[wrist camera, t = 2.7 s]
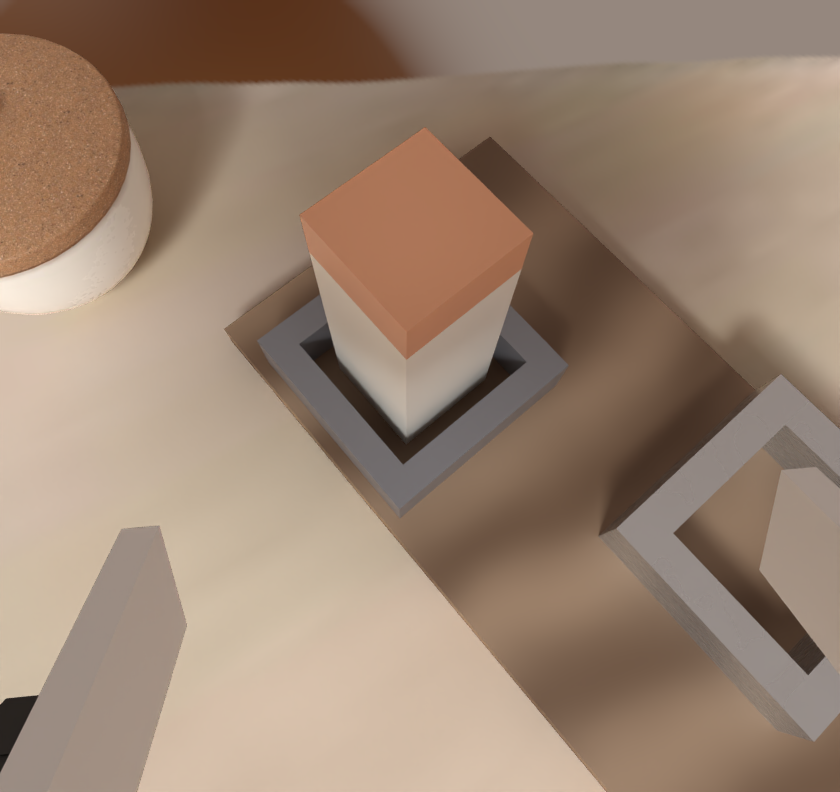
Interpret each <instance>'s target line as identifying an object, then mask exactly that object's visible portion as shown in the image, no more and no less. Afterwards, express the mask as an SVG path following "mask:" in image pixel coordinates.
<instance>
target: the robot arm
mask: <svg viewBox="0 0 840 792" xmlns="http://www.w3.org/2000/svg"><path fill="white" fill-rule="evenodd" d="M759 570H760V572H761V573H762V574H763V576H764V577H765V578H766V579H767V581H768V582H769V583H770V585H771V586H772V587H773V589H774V590H775V591H776V593H777V594H778V595H779V596H780V598H781V599H782V600H783V602H784V603H785V604H786V606H787V607H788V608H789V609H790V611H791V612H792V613H793V615H794V616H795V617H796V619H797V620H798V621H799V622H800V624H801V625H802V626H803V628H804V629H805V630H806V632H807V633H808V634H809V636H810V637H811V638H812V639H813V641H814V642H815V643H816V645H817V646H818V647H819V649H820V650H821V651H822V652H823V654H824V655H825V656H826V658H827V659H828V660H829V662H830V663H831V664H832V665H833V667H834V668H835V669H836V671H837V672H838V673H839V675H840V488H839V487H837V486H836V485H835V484H834V483H833V482H832V481H831V480H830V479H829V478H828V477H827V476H825V475H824V474H823V473H822V472H821V471H820V470H819V469H818V468H817V467H809V468H798V469H787V470H781V474H780V478H779V483H778V487H777V492H776V496H775V501H774V505H773V510H772V514H771V519H770V523H769V528H768V533H767V537H766V542H765V546H764V551H763V555H762V560H761V564H760V569H759ZM186 627H187V623H186V619H185V616H184V612H183V609H182V605H181V602H180V598H179V594H178V591H177V587H176V584H175V580H174V576H173V573H172V569H171V566H170V562H169V558H168V555H167V551H166V548H165V544H164V540H163V537H162V533H161V530H160V526H149V527H138V528H127V529H121V531H120V533H119V535H118V537H117V539H116V541H115V543H114V545H113V547H112V549H111V551H110V553H109V555H108V557H107V559H106V561H105V563H104V565H103V567H102V569H101V571H100V573H99V575H98V577H97V579H96V581H95V583H94V585H93V587H92V589H91V591H90V593H89V595H88V597H87V599H86V601H85V603H84V605H83V607H82V609H81V611H80V613H79V615H78V617H77V619H76V621H75V623H74V626H73V628H72V630H71V632H70V634H69V636H68V638H67V640H66V642H65V644H64V646H63V648H62V650H61V652H60V654H59V656H58V658H57V660H56V662H55V664H54V666H53V668H52V670H51V672H50V674H49V676H48V678H47V680H46V682H45V684H44V686H43V688H42V690H41V692H40V694H39V695H37V696H27V697H17V698H7V699H5V700H4V701H3V702H2V703H1V705H0V792H137V790H138V787H139V784H140V780H141V777H142V774H143V770H144V767H145V764H146V760H147V757H148V754H149V750H150V747H151V743H152V740H153V737H154V733H155V730H156V727H157V723H158V720H159V717H160V713H161V710H162V707H163V703H164V700H165V697H166V693H167V690H168V687H169V683H170V680H171V677H172V673H173V670H174V667H175V663H176V660H177V657H178V653H179V650H180V647H181V643H182V640H183V637H184V633H185V630H186Z"/></svg>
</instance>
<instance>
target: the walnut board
mask: <svg viewBox="0 0 840 792" xmlns="http://www.w3.org/2000/svg"><path fill="white" fill-rule="evenodd" d="M459 161H460V162H461V163H462V164H463V165H464V166H465V167H466V168H467V169H468V170H470V171H471V172H472V173H473V174H474V175H475V176H476V177H477V178H478V179H479V180H480V181H481V182H482V183H483V184H484V185H485V186H486V187H487V188H488V189H489V190H490V191H491V192H492V193H493V194H494V195H495V196H496V197H497V198H498V199H499V200H500V201H501V202H502V203H503V204H504V205H505V206H506V207H507V208H508V209H509V210H510V211H511V212H512V213H513V214H514V215H515V216H516V217H517V218H518V219H519V220H520V221H521V222H522V223H524V224H525V225H526V226H527V227H528V228H529V229H530V230H531V231H532V232H533V236H532V239H531V242H530V245H529V248H528V251H527V254H526V257H525V260H524V263H523V266H522V269H521V272H520V275H519V278H518V281H517V284H516V287H515V290H514V294H513V297H512V300H511V303H510V305H511V306H512V307H513V309H514V310H515V311H516V312H517V313H518V314H519V315H520V316H521V317H522V318H523V319H524V320H525V321H526V322H527V323H528V324H529V325H530V326H531V327H532V328H533V329H534V330H535V331H536V332H537V333H538V334H539V335H540V336H541V337H542V338H543V339H544V340H545V341H546V342H547V343H548V344H549V345H550V346H551V348H552V349H553V350H554V351H555V352H556V353H557V354H558V355H559V356H560V357H561V358H562V359H563V360H564V361H565V362H566V363H567V364H568V365H569V366H568V368H567V369H566V371H565V372H564V374H563V375H562V377H561V378H560V380H559V381H558V383H557V385H556V386H555V387H554V388H552V389H551V390H550V391H549V392H548V393H546V394H545V395H544V396H543V397H542V398H541V399H539V400H538V401H537V402H536V403H535V404H534V405H532V406H531V407H530V408H529V409H528V410H527V411H525V412H524V413H523V414H522V415H521V416H519V417H518V418H517V419H516V420H515V421H514V422H512V423H511V424H510V425H509V426H508V427H507V428H505V429H504V430H503V431H502V432H501V433H500V434H498V435H497V436H496V437H495V438H494V439H492V440H491V441H490V442H489V443H488V444H487V445H485V446H484V447H483V448H482V449H481V450H480V451H478V452H477V453H476V454H475V455H474V456H473V457H471V458H470V459H469V460H468V461H467V462H466V463H464V464H463V465H462V466H461V467H460V468H458V469H457V470H456V471H455V472H454V473H453V474H451V475H450V476H449V477H448V478H447V479H446V480H444V481H443V482H442V483H441V484H440V485H439V486H437V487H436V488H435V489H434V490H433V491H431V492H430V493H429V494H428V495H427V496H426V497H424V498H423V499H422V500H421V501H420V502H419V503H417V504H416V505H415V506H414V507H413V508H412V509H410V510H409V511H408V512H407V513H406V514H404V515H403V516H402V517H401V518H399V517H398V516H397V515H396V513H395V512H394V511H393V510H392V509H391V507H390V506H389V505H388V504H387V503H386V501H385V500H384V499H383V498H382V497H381V495H380V494H379V493H378V492H377V491H376V490H375V488H374V487H373V486H372V485H371V484H370V482H369V481H368V480H367V479H366V478H365V476H364V475H363V474H362V473H361V472H360V470H359V469H358V468H357V467H356V466H355V465H354V463H353V462H352V461H351V460H350V459H349V457H348V456H347V455H346V454H345V453H344V451H343V450H342V449H341V448H340V447H339V445H338V444H337V443H336V442H335V441H334V440H333V438H332V437H331V436H330V435H329V434H328V432H327V431H326V430H325V429H324V428H323V426H322V425H321V424H320V423H319V422H318V421H317V419H316V418H315V417H314V416H313V415H312V413H311V412H310V411H309V410H308V409H307V407H306V406H305V405H304V404H303V403H302V401H301V400H300V399H299V398H298V397H297V396H296V394H295V393H294V392H293V391H292V390H291V388H290V387H289V386H288V385H287V384H286V382H285V381H284V380H283V379H282V378H281V376H280V375H279V374H278V373H277V372H276V371H275V369H274V368H273V367H272V366H271V365H270V363H269V362H268V360H267V358H266V356H265V354H264V353H263V351H262V349H261V347H260V345H259V343H258V341H257V340H259V339H260V338H261V337H263V336H264V335H265V334H267V333H268V332H269V331H271V330H272V329H273V328H275V327H276V326H278V325H279V324H280V323H282V322H283V321H284V320H286V319H287V318H288V317H290V316H291V315H292V314H294V313H295V312H297V311H298V310H299V309H301V308H302V307H303V306H305V305H306V304H307V303H309V302H310V301H311V300H313V299H314V298H316V297H317V296H318V295H320V291H319V288H318V284H317V280H316V276H315V272H314V269H313V265H312V266H311V267H309V268H308V269H306V270H305V271H304V272H302V273H301V274H300V275H298V276H297V277H295V278H294V279H293V280H291V281H290V282H288V283H287V284H286V285H284V286H283V287H282V288H280V289H279V290H277V291H276V292H275V293H273V294H272V295H270V296H269V297H268V298H266V299H265V300H264V301H262V302H261V303H259V304H258V305H257V306H255V307H254V308H253V309H251V310H250V311H248V312H247V313H246V314H244V315H243V316H241V317H240V318H239V319H237V320H236V321H235V322H233V323H232V324H230V325H229V326H228V327H226V328H225V331H226V333H227V334H228V336H229V337H230V339H231V341H232V342H233V343H234V344H235V346H236V347H237V348H238V349H239V350H240V352H241V353H242V354H243V355H244V356H245V358H246V359H247V360H248V361H249V362H250V364H251V365H252V366H253V367H254V369H255V370H256V371H257V372H258V373H259V375H260V376H261V377H262V378H263V379H264V381H265V382H266V383H267V384H268V385H269V387H270V388H271V389H272V390H273V391H274V393H275V394H276V395H277V396H278V397H279V399H280V400H281V401H282V402H283V403H284V405H285V406H286V407H287V408H288V409H289V411H290V412H291V413H292V414H293V415H294V417H295V418H296V419H297V420H298V421H299V423H300V424H301V425H302V426H303V427H304V429H305V430H306V431H307V432H308V433H309V435H310V436H311V437H312V438H313V439H314V441H315V442H316V443H317V444H318V445H319V447H320V448H321V449H322V450H323V451H324V453H325V454H326V455H327V456H328V457H329V459H330V460H331V461H332V462H333V463H334V465H335V466H336V467H337V468H338V469H339V471H340V472H341V473H342V474H343V476H344V477H345V478H346V479H347V480H348V482H349V483H350V484H351V485H352V486H353V488H354V489H355V490H356V491H357V492H358V494H359V495H360V496H361V497H362V498H363V500H364V501H365V502H366V503H367V504H368V506H369V507H370V508H371V509H372V510H373V512H374V513H375V514H376V515H377V516H378V518H379V519H380V520H381V521H382V522H383V524H384V525H385V526H386V527H387V528H388V530H389V531H390V532H391V533H392V534H393V536H394V537H395V538H396V539H397V540H398V542H399V543H400V544H401V545H402V546H403V548H404V549H405V550H406V551H407V552H408V554H409V555H410V556H411V557H412V558H413V560H414V561H415V562H416V563H417V564H418V566H419V567H420V568H421V569H422V570H423V572H424V573H425V574H426V575H427V577H428V578H429V579H430V580H431V581H432V583H433V584H434V585H435V586H436V587H437V589H438V590H439V591H440V592H441V593H442V595H443V596H444V597H445V598H446V599H447V601H448V602H449V603H450V604H451V605H452V607H453V608H454V609H455V610H456V611H457V613H458V614H459V615H460V616H461V617H462V619H463V620H464V621H465V622H466V623H467V625H468V626H469V627H470V628H471V629H472V631H473V632H474V633H475V634H476V635H477V637H478V638H479V639H480V640H481V641H482V643H483V644H484V645H485V646H486V647H487V649H488V650H489V651H490V652H491V653H492V655H493V656H494V657H495V658H496V659H497V661H498V662H499V663H500V664H501V665H502V667H503V668H504V669H505V670H506V671H507V673H508V674H509V675H510V676H511V677H512V679H513V680H514V681H515V682H516V684H517V685H518V686H519V687H520V688H521V690H522V691H523V692H524V693H525V694H526V696H527V697H528V698H529V699H530V700H531V702H532V703H533V704H534V705H535V706H536V708H537V709H538V710H539V711H540V712H541V714H542V715H543V716H544V717H545V718H546V720H547V721H548V722H549V723H550V724H551V726H552V727H553V728H554V729H555V730H556V732H557V733H558V734H559V735H560V736H561V738H562V739H563V740H564V741H565V742H566V744H567V745H568V746H569V747H570V748H571V750H572V751H573V752H574V753H575V754H576V756H577V757H578V758H579V759H580V760H581V762H582V763H583V764H584V765H585V766H586V768H587V769H588V770H589V771H590V772H591V774H592V775H593V776H594V777H595V778H596V780H597V781H598V782H599V783H600V784H601V786H602V787H603V788H604V789H605V791H606V792H840V713H839V714H838V715H837V717H836V718H835V719H834V720H833V721H832V722H831V723H830V724H829V726H828V727H827V728H826V729H825V730H824V731H823V732H822V734H821V735H820V736H819V737H818V738H817V739H816V740H815V741H814V742H813V741H810V740H806V739H803V738H800V737H796V736H793V735H790V734H786V733H783V732H780V731H777V730H776V729H775V728H774V727H773V726H772V725H771V724H770V723H769V722H768V721H767V720H766V718H765V717H764V716H763V715H762V714H761V713H760V712H759V711H758V710H757V709H756V708H755V706H754V705H753V704H752V703H751V702H750V701H749V700H748V699H747V698H746V697H745V696H744V694H743V693H742V692H741V691H740V690H739V689H738V688H737V687H736V686H735V685H734V684H733V682H732V681H731V680H730V679H729V678H728V677H727V676H726V675H725V674H724V673H723V672H722V670H721V669H720V668H719V667H718V666H717V665H716V664H715V663H714V662H713V661H712V660H711V658H710V657H709V656H708V655H707V654H706V653H705V652H704V651H703V650H702V649H701V648H700V646H699V645H698V644H697V643H696V642H695V641H694V640H693V639H692V638H691V637H690V636H689V634H688V633H687V632H686V631H685V630H684V629H683V628H682V627H681V626H680V625H679V624H678V622H677V621H676V620H675V619H674V618H673V617H672V616H671V615H670V614H669V613H668V612H667V610H666V609H665V608H664V607H663V606H662V605H661V604H660V603H659V602H658V601H657V600H656V598H655V597H654V596H653V595H652V594H651V593H650V592H649V591H648V590H647V589H646V588H645V586H644V585H643V584H642V583H641V582H640V581H639V580H638V579H637V578H636V577H635V576H634V574H633V573H632V572H631V571H630V570H629V569H628V568H627V567H626V566H625V565H624V564H623V562H622V561H621V560H620V559H619V558H618V557H617V556H616V555H615V554H614V553H613V552H612V550H611V549H610V548H609V547H608V546H607V545H606V544H605V543H604V542H603V541H602V540H601V539H600V537H599V535H600V534H601V533H602V532H603V531H605V530H606V529H607V528H608V527H609V526H610V525H611V524H612V523H613V522H614V521H615V520H616V519H617V518H618V517H620V516H621V515H622V514H623V513H624V512H625V511H626V510H627V509H628V508H629V507H630V506H631V505H632V504H633V503H634V502H636V501H637V500H638V499H639V498H640V497H641V496H642V495H643V494H644V493H645V492H646V491H647V490H648V489H649V488H651V487H652V486H653V485H654V484H655V483H656V482H657V481H658V480H659V479H660V478H661V477H662V476H663V475H664V474H666V473H667V472H668V471H669V470H670V469H671V468H672V467H673V466H674V465H675V464H676V463H677V462H678V461H679V460H680V459H682V458H683V457H684V456H685V455H686V454H687V453H688V452H689V451H690V450H691V449H692V448H693V447H694V446H695V445H697V444H698V443H699V442H700V441H701V440H702V439H703V438H704V437H705V436H706V435H707V434H708V433H709V432H710V431H711V430H713V429H714V428H715V427H716V426H717V425H718V424H719V423H720V422H721V421H722V420H723V419H724V418H725V417H726V416H728V415H729V414H730V413H731V412H732V411H733V410H734V409H735V408H736V407H737V406H738V405H739V404H740V403H741V402H743V401H744V400H745V399H746V398H747V397H748V396H749V395H750V394H751V393H753V392H754V391H756V390H755V389H754V388H752V387H751V386H750V385H749V384H748V383H747V382H746V381H745V380H744V379H743V378H742V377H741V376H740V375H739V374H738V373H737V372H736V371H735V370H734V369H733V368H732V367H731V366H729V365H728V364H727V363H726V362H725V361H724V360H723V359H722V358H721V357H720V356H719V355H718V354H717V353H716V352H715V351H714V350H713V349H712V348H711V347H710V346H709V345H707V344H706V343H705V342H704V341H703V340H702V339H701V338H700V337H699V336H698V335H697V334H696V333H695V332H694V331H693V330H692V329H691V328H690V327H689V326H688V325H687V324H686V323H684V322H683V321H682V320H681V319H680V318H679V317H678V316H677V315H676V314H675V313H674V312H673V311H672V310H671V309H670V308H669V307H668V306H667V305H666V304H665V303H664V302H662V301H661V300H660V299H659V298H658V297H657V296H656V295H655V294H654V293H653V292H652V291H651V290H650V289H649V288H648V287H647V286H646V285H645V284H644V283H643V282H642V281H641V280H639V279H638V278H637V277H636V276H635V275H634V274H633V273H632V272H631V271H630V270H629V269H628V268H627V267H626V266H625V265H624V264H623V263H622V262H621V261H620V260H619V259H617V258H616V257H615V256H614V255H613V254H612V253H611V252H610V251H609V250H608V249H607V248H606V247H605V246H604V245H603V244H602V243H601V242H600V241H599V240H598V239H597V238H596V237H594V236H593V235H592V234H591V233H590V232H589V231H588V230H587V229H586V228H585V227H584V226H583V225H582V224H581V223H580V222H579V221H578V220H577V219H576V218H575V217H574V216H572V215H571V214H570V213H569V212H568V211H567V210H566V209H565V208H564V207H563V206H562V205H561V204H560V203H559V202H558V201H557V200H556V199H555V198H554V197H553V196H552V195H551V194H549V193H548V192H547V191H546V190H545V189H544V188H543V187H542V186H541V185H540V184H539V183H538V182H537V181H536V180H535V179H534V178H533V177H532V176H531V175H530V174H529V173H527V172H526V171H525V170H524V169H523V168H522V167H521V166H520V165H519V164H518V163H517V162H516V161H515V160H514V159H513V158H512V157H511V156H510V155H509V154H508V153H507V152H506V151H504V150H503V149H502V148H501V147H500V146H499V145H498V144H497V143H496V142H495V141H494V140H493V139H492V138H491V137H489V138H488V139H486V140H485V141H484V142H482V143H481V144H479V145H478V146H477V147H475V148H474V149H472V150H471V151H470V152H468V153H467V154H466V155H464V156H463V157H461V158H460V159H459ZM314 362H315V363H316V364H317V365H318V367H319V368H320V369H321V370H322V371H323V372H324V373H325V375H326V376H327V377H328V378H329V379H330V380H331V382H332V383H333V384H334V385H335V386H336V387H337V389H338V390H339V391H340V392H341V393H342V394H343V396H344V397H345V398H346V399H347V400H348V401H349V402H350V404H351V405H352V406H353V407H354V408H355V409H356V411H357V412H358V413H359V414H360V415H361V416H362V418H363V419H364V420H365V421H366V422H367V423H368V425H369V426H370V427H371V428H372V429H373V430H374V432H375V433H376V434H377V435H378V436H379V437H380V438H381V440H382V441H383V442H384V443H385V444H386V445H387V447H388V448H389V449H390V450H391V451H392V452H393V454H394V455H395V456H396V457H397V458H398V459H399V461H400V462H401V463H402V464H405V463H406V462H407V461H408V460H409V459H411V458H412V457H413V456H414V455H416V454H417V453H418V452H419V451H420V450H422V449H423V448H424V447H425V446H426V445H428V444H429V443H430V442H431V441H432V440H434V439H435V438H436V437H437V436H438V435H440V434H441V433H442V432H443V431H444V430H446V429H447V428H448V427H449V426H450V425H452V424H453V423H454V422H455V421H456V420H458V419H459V418H460V417H461V416H462V415H464V414H465V413H466V412H467V411H468V410H470V409H471V408H472V407H473V406H474V405H476V404H477V403H478V402H479V401H480V400H482V399H483V398H484V397H485V396H486V395H488V394H489V393H490V392H491V391H492V390H494V389H495V388H496V387H497V386H499V385H500V384H501V383H502V382H503V381H505V380H506V379H507V378H508V377H509V376H511V375H510V374H509V373H508V372H507V371H506V370H505V369H504V368H503V367H502V366H501V365H500V364H499V363H498V362H497V360H496V359H495V358H494V357H492V360H491V363H490V366H489V369H488V372H487V375H486V378H485V380H484V381H483V382H482V383H480V384H479V385H478V386H477V387H475V388H474V389H473V390H472V391H471V392H469V393H468V394H467V395H466V396H465V397H463V398H462V399H461V400H460V401H459V402H457V403H456V404H455V405H454V406H452V407H451V408H450V409H449V410H448V411H446V412H445V413H444V414H443V415H442V416H440V417H439V418H438V419H437V420H435V421H434V422H433V423H432V424H431V425H429V426H428V427H427V428H426V429H425V430H423V431H422V432H421V433H420V434H418V435H417V436H416V437H415V438H414V439H412V440H411V441H410V442H409V443H408V444H405V443H404V442H403V440H402V439H401V438H400V437H399V436H398V435H397V434H396V432H395V431H394V430H393V429H392V428H391V427H390V425H389V424H388V423H387V422H386V421H385V420H384V419H383V417H382V416H381V415H380V414H379V413H378V412H377V411H376V409H375V408H374V407H373V406H372V405H371V404H370V402H369V401H368V400H367V399H366V398H365V397H364V396H363V394H362V393H361V392H360V391H359V390H358V389H357V388H356V386H355V385H354V384H353V383H352V382H351V381H350V380H349V378H348V377H347V376H346V375H345V374H344V373H343V371H342V370H341V369H340V368H339V364H338V360H337V356H336V352H335V348H334V346H333V347H331V348H330V349H329V350H327V351H326V352H325V353H323V354H322V355H321V356H319V357H318V358H317V359H316V360H314ZM781 470H785V469H784V468H783V467H782V466H781V465H780V464H779V463H777V462H776V461H775V460H774V459H773V458H772V457H771V456H770V455H769V454H768V453H767V452H766V451H765V450H764V449H763V448H761V449H760V450H759V451H758V452H757V453H756V454H754V455H753V456H752V457H751V458H750V459H749V460H748V461H747V462H746V463H745V464H744V465H743V466H742V467H741V468H740V469H739V470H738V471H737V472H736V473H735V474H734V475H733V476H732V477H731V478H730V479H729V480H728V481H727V482H725V483H724V484H723V485H722V486H721V487H720V488H719V489H718V490H717V491H716V492H715V493H714V494H713V495H712V496H711V497H710V498H709V499H708V500H707V501H706V502H705V503H704V504H703V505H702V506H701V507H700V508H699V509H698V510H696V511H695V512H694V513H693V514H692V515H691V516H690V517H689V518H688V519H687V520H686V521H685V522H684V523H683V524H682V525H681V526H680V527H679V528H678V529H677V530H676V531H675V532H674V533H673V534H674V535H675V536H676V537H677V538H678V539H679V540H680V541H681V542H682V543H683V544H684V545H685V546H686V547H687V548H688V549H689V550H690V552H691V553H692V554H693V555H694V556H695V557H696V558H697V559H698V560H699V561H700V562H701V563H702V564H703V565H704V566H705V567H706V568H707V569H708V571H709V572H710V573H711V574H712V575H713V576H714V577H715V578H716V579H717V580H718V581H719V582H720V583H721V584H722V585H723V586H724V587H725V588H726V589H727V591H728V592H729V593H730V594H731V595H732V596H733V597H734V598H735V599H736V600H737V601H738V602H739V603H740V604H741V605H742V606H743V607H744V608H745V609H746V611H747V612H748V613H749V614H750V615H751V616H752V617H753V618H754V619H755V620H756V621H757V622H758V623H759V624H760V625H761V626H762V627H763V628H764V629H765V631H766V632H767V633H768V634H769V635H770V636H771V637H772V638H773V639H774V640H775V641H776V642H777V643H778V644H779V645H780V646H781V647H782V648H783V649H784V651H785V652H786V653H787V654H788V653H789V652H790V651H791V650H792V648H793V647H794V646H795V645H796V644H797V643H798V642H799V641H800V640H801V639H802V638H803V637H804V635H805V634H806V633H807V632H806V630H805V629H804V628H803V626H802V625H801V624H800V622H799V621H798V620H797V619H796V617H795V616H794V615H793V613H792V612H791V611H790V609H789V608H788V607H787V606H786V604H785V603H784V602H783V600H782V599H781V598H780V596H779V595H778V594H777V593H776V591H775V590H774V589H773V587H772V586H771V585H770V583H769V582H768V581H767V579H766V578H765V577H764V576H763V574H762V573H761V572H760V570H759V569H760V564H761V560H762V555H763V551H764V546H765V542H766V537H767V533H768V528H769V523H770V519H771V514H772V510H773V505H774V501H775V496H776V492H777V487H778V483H779V478H780V474H781Z"/></svg>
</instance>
